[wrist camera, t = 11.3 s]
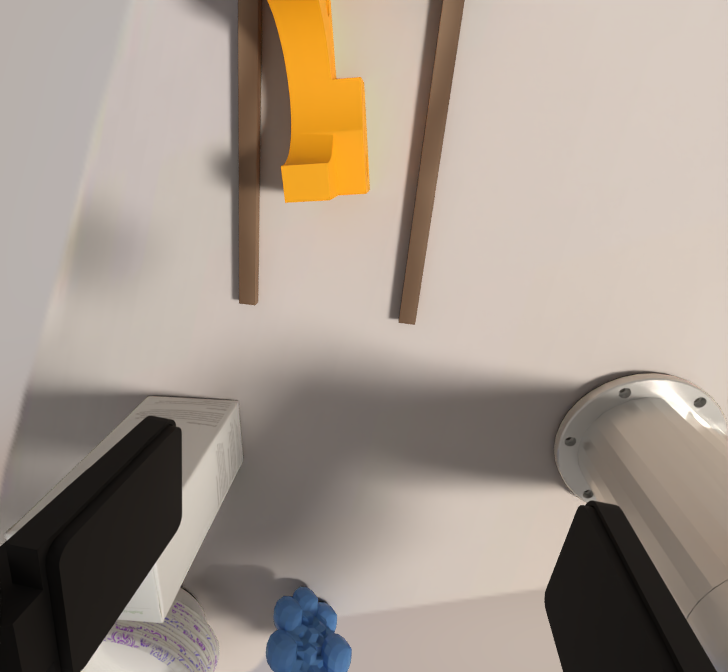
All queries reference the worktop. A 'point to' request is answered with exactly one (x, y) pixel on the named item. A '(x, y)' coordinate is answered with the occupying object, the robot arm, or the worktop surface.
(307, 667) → the grapes
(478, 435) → the worktop surface
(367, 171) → the pipe clamp
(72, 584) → the robot arm
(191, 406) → the skincare box
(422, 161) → the rail
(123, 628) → the paper bowls
